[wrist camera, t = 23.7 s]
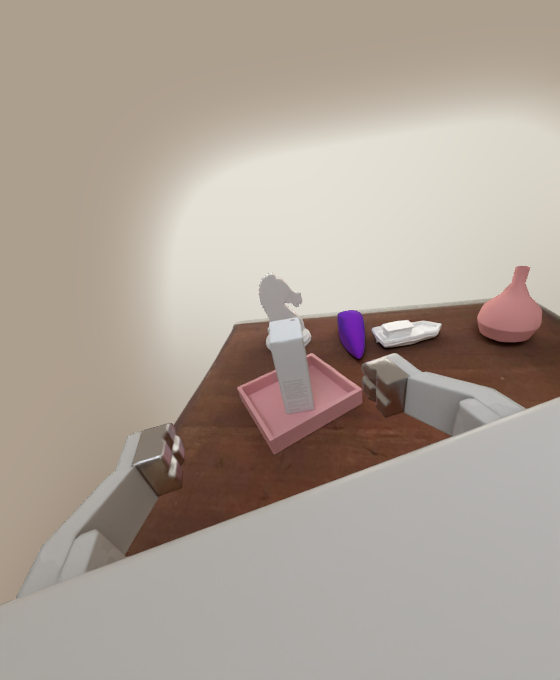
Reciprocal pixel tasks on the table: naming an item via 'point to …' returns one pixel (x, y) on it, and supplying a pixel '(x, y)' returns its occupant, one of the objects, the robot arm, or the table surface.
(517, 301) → the pink vase
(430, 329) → the white toy boat
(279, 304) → the chess piece
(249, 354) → the table surface
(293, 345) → the cosmetic box
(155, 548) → the robot arm
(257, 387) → the tray
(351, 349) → the purple rounded wedge
